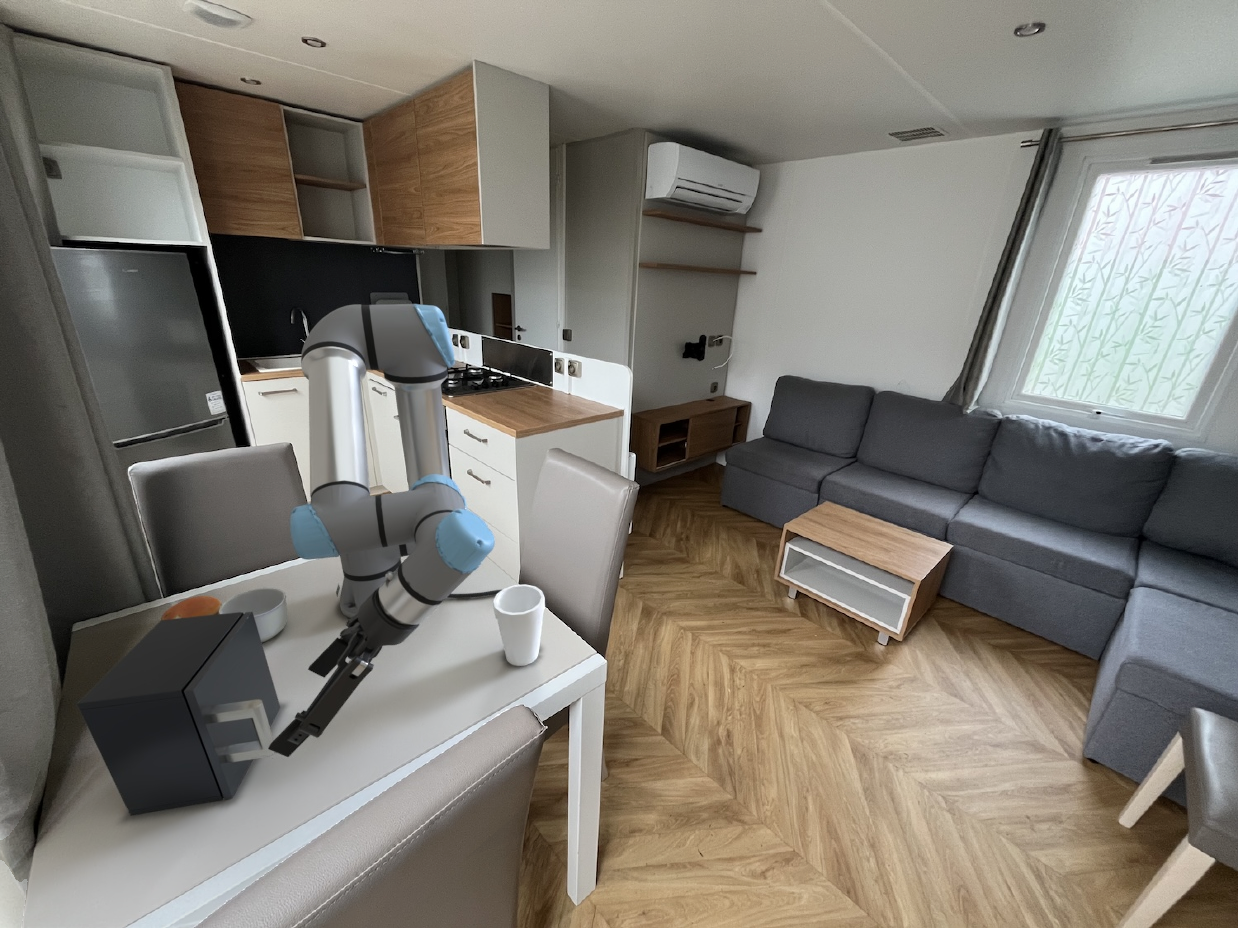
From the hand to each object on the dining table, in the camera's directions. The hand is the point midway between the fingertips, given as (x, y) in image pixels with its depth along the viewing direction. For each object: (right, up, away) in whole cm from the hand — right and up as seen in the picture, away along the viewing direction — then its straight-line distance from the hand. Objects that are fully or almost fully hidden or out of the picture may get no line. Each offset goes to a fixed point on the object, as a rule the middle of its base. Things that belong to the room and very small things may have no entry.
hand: (299, 707), depth 68 cm
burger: (-44, 0, +35) cm, 57 cm away
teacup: (-29, -2, +31) cm, 42 cm away
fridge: (-18, -11, +7) cm, 22 cm away
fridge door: (-9, -10, +8) cm, 16 cm away
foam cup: (+25, -4, +29) cm, 38 cm away
